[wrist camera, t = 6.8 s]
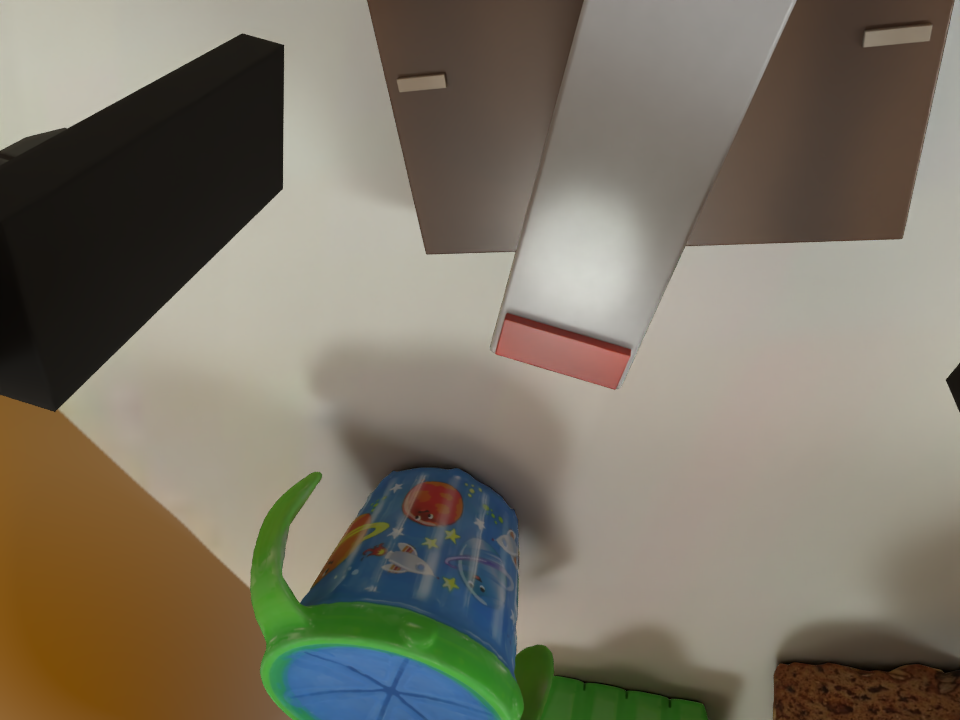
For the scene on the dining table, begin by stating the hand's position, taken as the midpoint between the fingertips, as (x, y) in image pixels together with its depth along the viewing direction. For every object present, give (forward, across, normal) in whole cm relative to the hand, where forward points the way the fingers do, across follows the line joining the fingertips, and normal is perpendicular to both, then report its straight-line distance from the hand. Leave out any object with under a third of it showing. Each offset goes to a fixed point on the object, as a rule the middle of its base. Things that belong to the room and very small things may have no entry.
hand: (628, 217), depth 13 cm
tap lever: (+8, 0, 0) cm, 8 cm away
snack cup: (+11, -2, -23) cm, 26 cm away
